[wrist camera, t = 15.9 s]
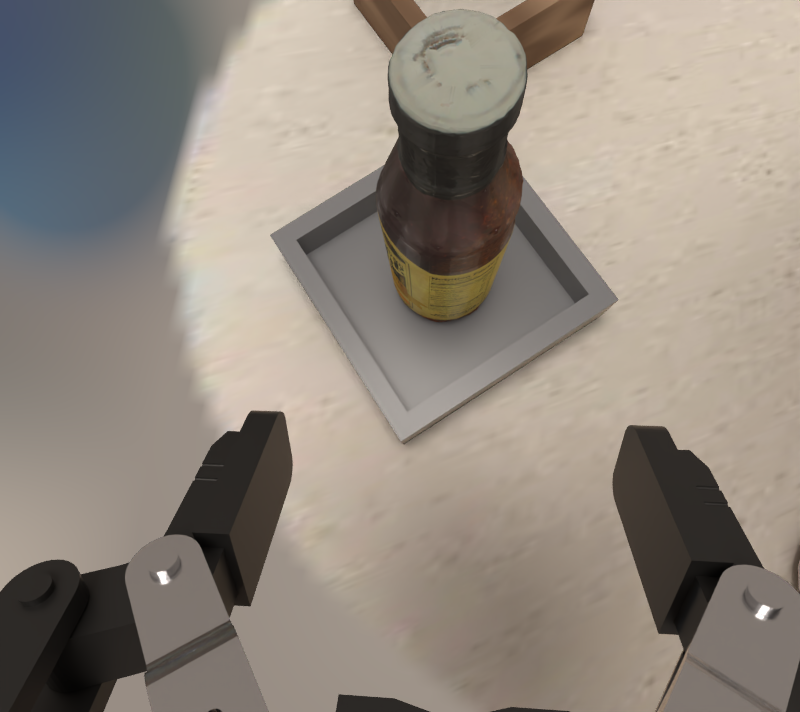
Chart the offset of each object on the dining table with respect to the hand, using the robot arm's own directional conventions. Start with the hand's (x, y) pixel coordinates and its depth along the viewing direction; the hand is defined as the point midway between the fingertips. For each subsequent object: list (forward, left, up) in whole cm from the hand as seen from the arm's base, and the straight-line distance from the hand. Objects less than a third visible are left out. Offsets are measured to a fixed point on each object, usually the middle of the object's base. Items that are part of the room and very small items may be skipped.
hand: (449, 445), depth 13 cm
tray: (-6, -9, -21) cm, 24 cm away
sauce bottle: (-6, -9, -20) cm, 23 cm away
